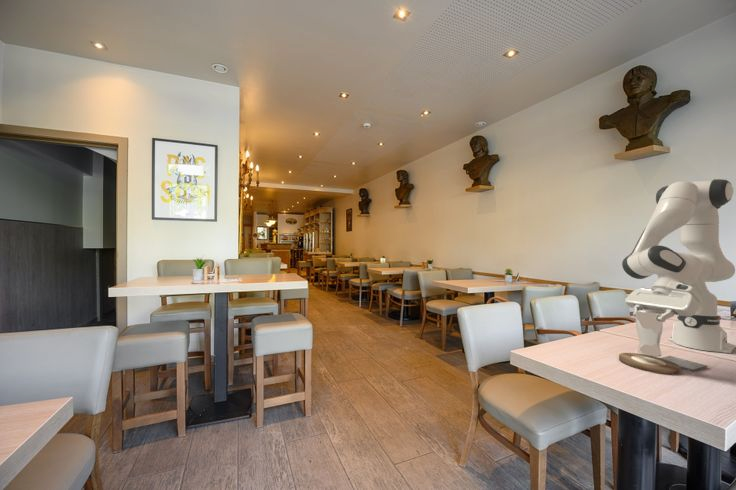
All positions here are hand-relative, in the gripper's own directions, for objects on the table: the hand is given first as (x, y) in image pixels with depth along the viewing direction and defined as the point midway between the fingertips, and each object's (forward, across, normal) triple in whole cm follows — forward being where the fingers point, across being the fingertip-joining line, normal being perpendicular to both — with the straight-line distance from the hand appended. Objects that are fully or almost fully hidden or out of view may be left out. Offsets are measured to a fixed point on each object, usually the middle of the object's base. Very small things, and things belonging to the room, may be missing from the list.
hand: (647, 318), depth 105 cm
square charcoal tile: (+3, +1, +21) cm, 21 cm away
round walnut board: (+12, -1, +12) cm, 17 cm away
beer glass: (+9, 0, +9) cm, 13 cm away
